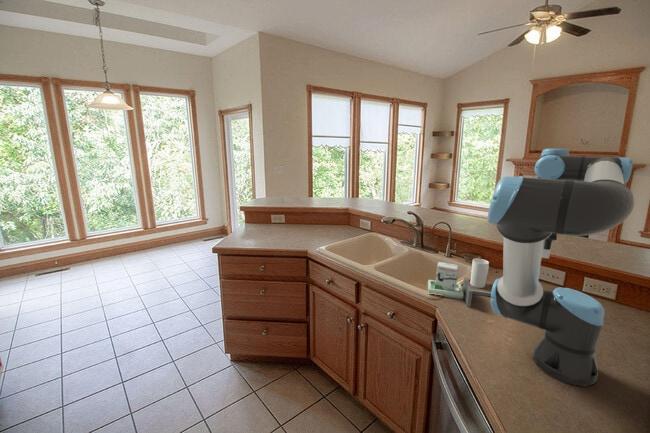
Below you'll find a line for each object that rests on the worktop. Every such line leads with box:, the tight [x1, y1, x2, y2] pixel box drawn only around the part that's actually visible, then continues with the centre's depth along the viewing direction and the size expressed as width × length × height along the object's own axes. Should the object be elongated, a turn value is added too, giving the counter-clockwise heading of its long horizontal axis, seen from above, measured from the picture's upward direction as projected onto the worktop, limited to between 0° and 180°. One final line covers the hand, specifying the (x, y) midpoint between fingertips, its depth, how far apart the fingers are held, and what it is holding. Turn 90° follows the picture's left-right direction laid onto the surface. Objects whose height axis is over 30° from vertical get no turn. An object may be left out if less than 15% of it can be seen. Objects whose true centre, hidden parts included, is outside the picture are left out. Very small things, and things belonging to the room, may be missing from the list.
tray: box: [427, 279, 464, 300], centre depth 136 cm, size 10×14×2 cm
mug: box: [469, 258, 490, 289], centre depth 142 cm, size 10×7×12 cm, turn 119°
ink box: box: [434, 261, 459, 292], centre depth 134 cm, size 9×5×12 cm, turn 65°
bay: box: [462, 276, 491, 308], centre depth 127 cm, size 14×13×7 cm
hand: (536, 251), depth 111 cm, fingers open, 13 cm apart
